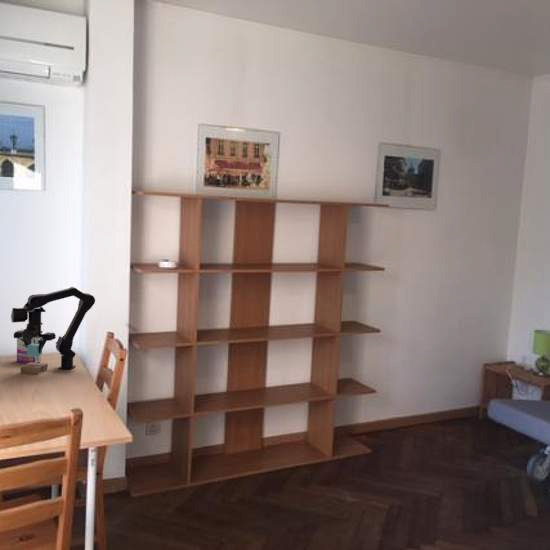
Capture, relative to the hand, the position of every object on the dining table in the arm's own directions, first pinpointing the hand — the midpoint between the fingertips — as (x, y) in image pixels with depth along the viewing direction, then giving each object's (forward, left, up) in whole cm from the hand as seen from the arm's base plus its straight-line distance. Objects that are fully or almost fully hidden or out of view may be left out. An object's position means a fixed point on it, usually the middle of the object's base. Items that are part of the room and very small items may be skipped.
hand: (34, 352), depth 292 cm
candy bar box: (-15, -11, -9) cm, 21 cm away
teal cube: (0, 0, -1) cm, 1 cm away
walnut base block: (0, 0, -9) cm, 9 cm away
